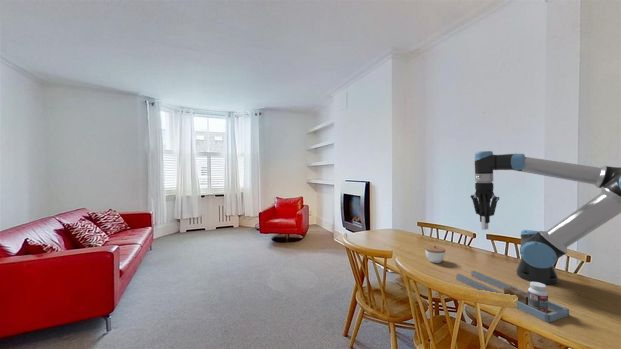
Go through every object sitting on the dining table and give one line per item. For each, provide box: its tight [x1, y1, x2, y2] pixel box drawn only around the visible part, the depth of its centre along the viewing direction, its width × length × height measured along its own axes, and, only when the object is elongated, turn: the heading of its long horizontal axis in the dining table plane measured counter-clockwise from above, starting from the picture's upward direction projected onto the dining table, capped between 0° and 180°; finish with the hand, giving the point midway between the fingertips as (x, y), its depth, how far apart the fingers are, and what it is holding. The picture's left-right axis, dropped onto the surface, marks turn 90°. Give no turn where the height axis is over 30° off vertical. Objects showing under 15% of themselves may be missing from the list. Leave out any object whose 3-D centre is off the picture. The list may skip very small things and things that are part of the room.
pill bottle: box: [527, 281, 549, 314], centre depth 96 cm, size 6×6×10 cm
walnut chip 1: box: [503, 285, 520, 295], centre depth 104 cm, size 4×4×4 cm
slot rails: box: [455, 270, 518, 294], centre depth 115 cm, size 20×12×2 cm, turn 19°
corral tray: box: [515, 287, 570, 324], centre depth 97 cm, size 17×12×2 cm
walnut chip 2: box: [514, 290, 528, 305], centre depth 100 cm, size 4×4×4 cm
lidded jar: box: [424, 244, 446, 264], centre depth 147 cm, size 11×11×9 cm
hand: (484, 229), depth 125 cm, fingers closed
